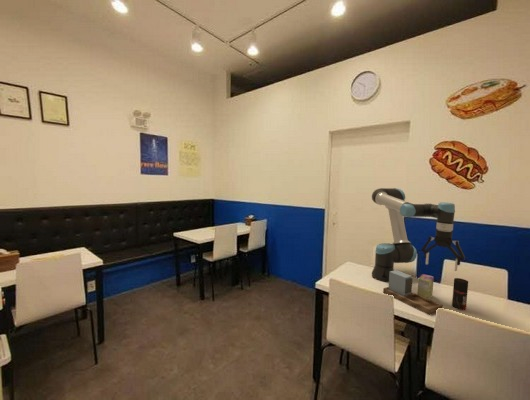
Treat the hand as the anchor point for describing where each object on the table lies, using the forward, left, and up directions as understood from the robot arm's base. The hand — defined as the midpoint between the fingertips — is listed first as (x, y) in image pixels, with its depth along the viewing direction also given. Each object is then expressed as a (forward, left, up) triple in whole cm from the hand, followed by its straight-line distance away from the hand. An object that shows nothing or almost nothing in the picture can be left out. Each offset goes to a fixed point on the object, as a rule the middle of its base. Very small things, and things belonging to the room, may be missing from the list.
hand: (440, 267), depth 140 cm
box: (-5, -5, -19) cm, 20 cm away
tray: (-5, -17, -19) cm, 26 cm away
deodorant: (+10, 0, -19) cm, 22 cm away
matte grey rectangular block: (-12, -17, -18) cm, 27 cm away
